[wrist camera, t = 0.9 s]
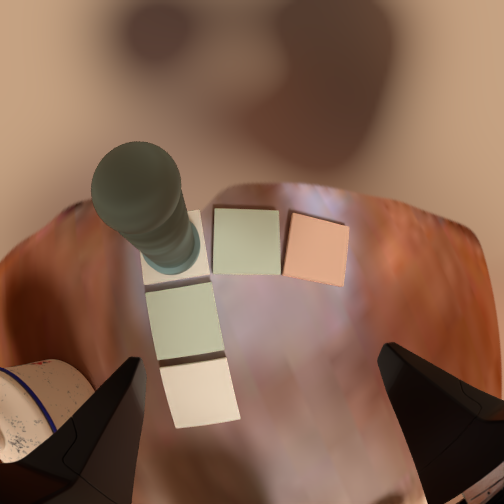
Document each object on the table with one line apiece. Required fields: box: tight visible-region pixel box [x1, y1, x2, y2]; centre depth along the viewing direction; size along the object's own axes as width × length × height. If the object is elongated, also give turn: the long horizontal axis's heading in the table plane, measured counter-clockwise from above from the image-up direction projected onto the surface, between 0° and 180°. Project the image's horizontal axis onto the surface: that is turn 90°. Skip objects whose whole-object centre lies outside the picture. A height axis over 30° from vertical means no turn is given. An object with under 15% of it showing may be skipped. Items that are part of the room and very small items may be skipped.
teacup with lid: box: [0, 359, 95, 463], centre depth 12 cm, size 12×9×12 cm
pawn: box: [91, 142, 200, 275], centre depth 16 cm, size 5×5×13 cm
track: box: [140, 208, 349, 428], centre depth 22 cm, size 23×17×1 cm
